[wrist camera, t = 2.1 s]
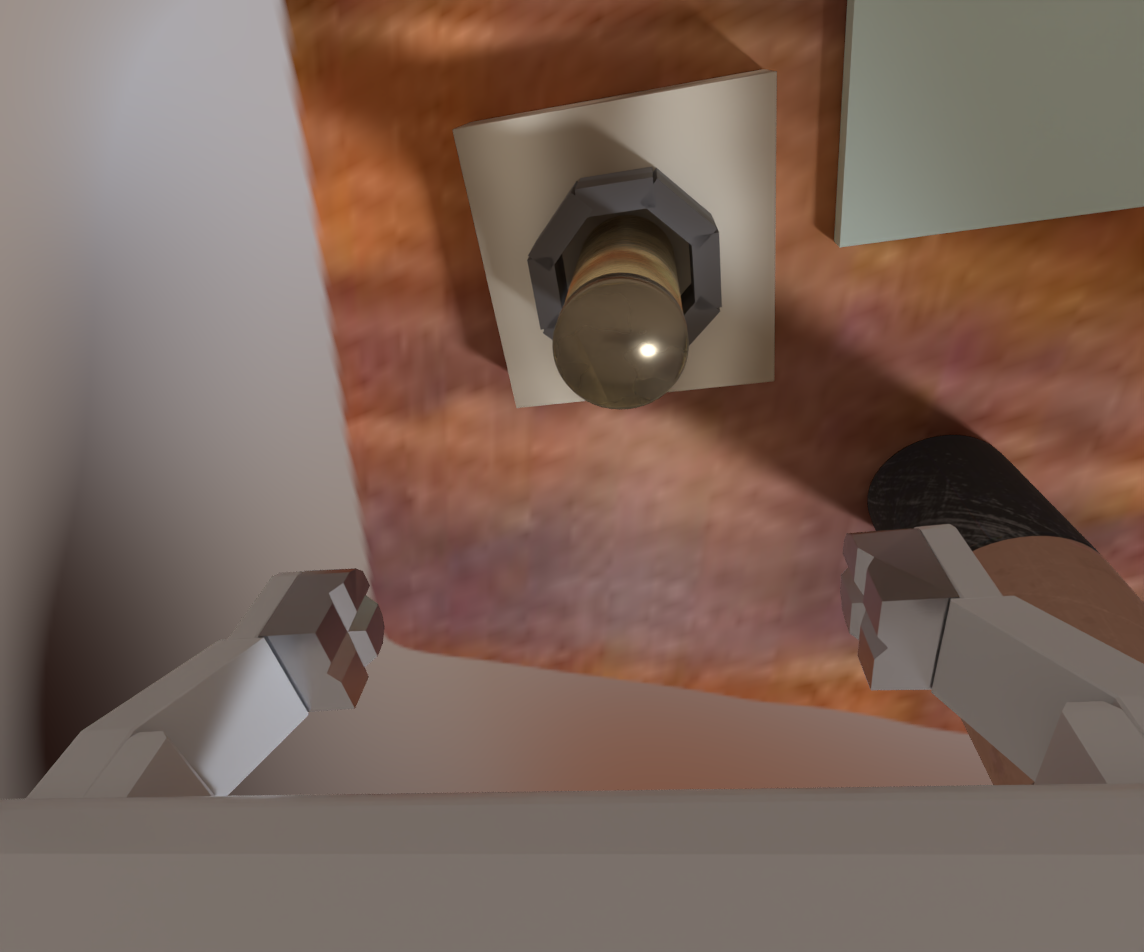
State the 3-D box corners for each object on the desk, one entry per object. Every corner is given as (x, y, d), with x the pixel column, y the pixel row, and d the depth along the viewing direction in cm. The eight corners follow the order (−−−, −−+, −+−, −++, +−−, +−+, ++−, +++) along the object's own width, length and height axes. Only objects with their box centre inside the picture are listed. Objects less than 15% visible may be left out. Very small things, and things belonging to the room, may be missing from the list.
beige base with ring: (763, 69, 25) (789, 73, 21) (763, 354, 32) (784, 406, 27) (469, 122, 27) (434, 136, 23) (526, 381, 34) (507, 433, 29)
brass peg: (672, 206, 26) (684, 271, 18) (679, 307, 28) (693, 402, 20) (570, 221, 26) (540, 290, 19) (585, 318, 28) (564, 415, 21)
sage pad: (1259, -208, 20) (1286, -219, 19) (1140, 200, 27) (1156, 204, 26) (853, -118, 22) (861, -125, 21) (834, 241, 28) (839, 247, 28)
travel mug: (855, 549, 38) (1022, 945, 21) (868, 435, 34) (1088, 814, 17) (998, 542, 36) (1295, 955, 20) (1029, 422, 32) (1438, 817, 16)
